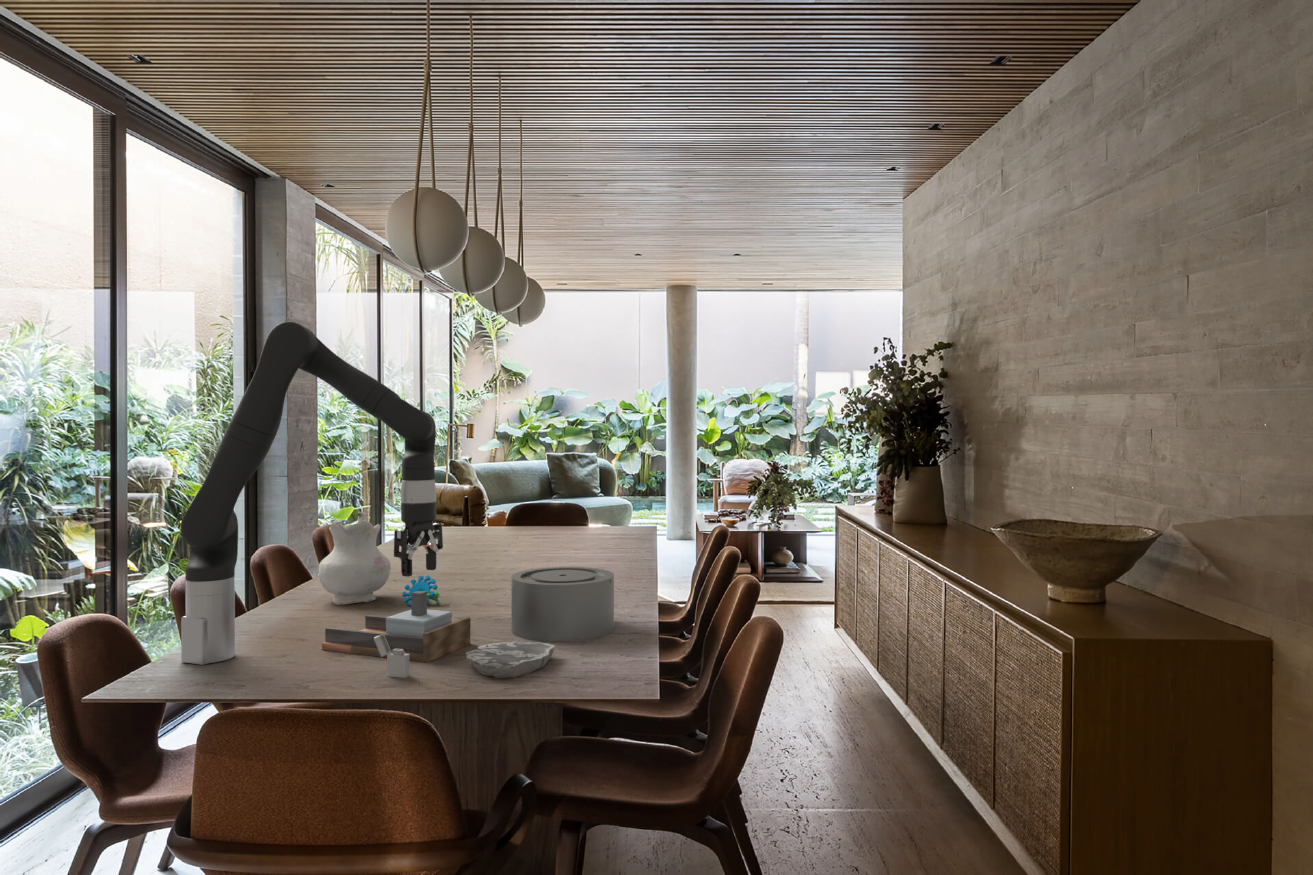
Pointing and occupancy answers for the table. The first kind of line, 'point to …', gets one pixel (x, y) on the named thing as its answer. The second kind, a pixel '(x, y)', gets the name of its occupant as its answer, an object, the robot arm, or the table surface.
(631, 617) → the table surface
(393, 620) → the block with peg
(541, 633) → the container
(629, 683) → the table surface
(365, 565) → the white scalloped vase
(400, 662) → the lighter
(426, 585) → the blue spiky round piece
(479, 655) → the grey flat stone
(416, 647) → the bay
